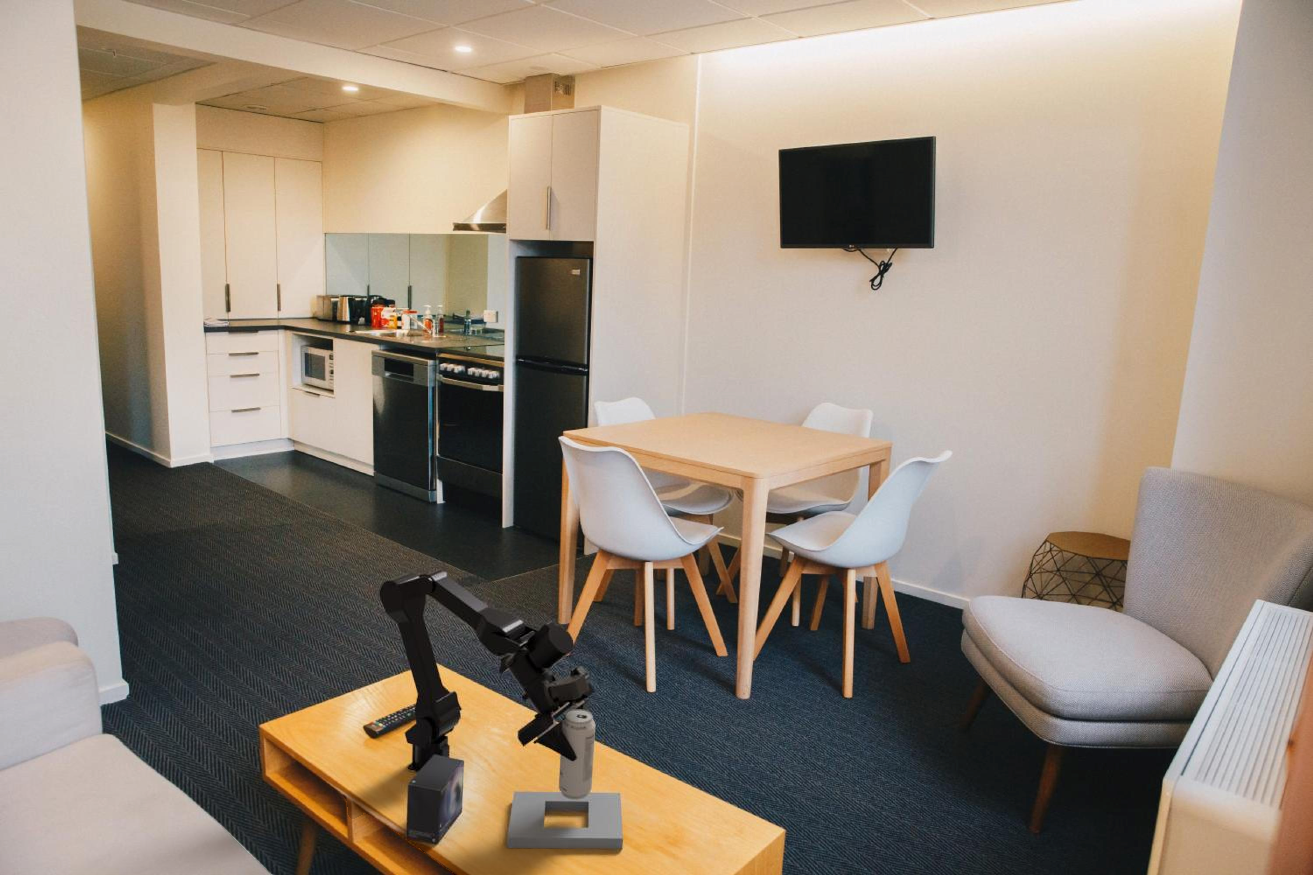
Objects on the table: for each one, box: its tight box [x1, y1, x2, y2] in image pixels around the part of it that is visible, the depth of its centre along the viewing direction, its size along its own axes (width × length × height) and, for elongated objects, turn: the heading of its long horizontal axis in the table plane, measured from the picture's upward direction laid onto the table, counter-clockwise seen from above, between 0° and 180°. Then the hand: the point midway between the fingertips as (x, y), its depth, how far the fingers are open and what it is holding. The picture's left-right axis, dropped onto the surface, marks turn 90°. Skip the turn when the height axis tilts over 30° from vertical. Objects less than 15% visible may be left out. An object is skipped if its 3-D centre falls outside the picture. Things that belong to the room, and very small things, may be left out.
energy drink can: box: [558, 709, 596, 799], centre depth 159 cm, size 6×6×15 cm
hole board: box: [506, 790, 624, 850], centre depth 158 cm, size 20×14×2 cm
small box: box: [405, 755, 465, 845], centre depth 155 cm, size 11×6×10 cm, turn 168°
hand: (583, 751), depth 158 cm, fingers closed on energy drink can, 6 cm apart
